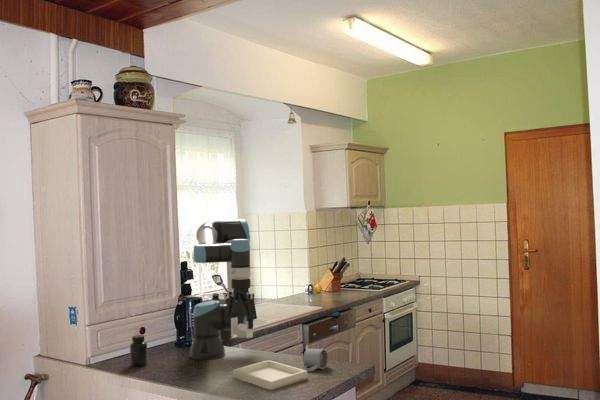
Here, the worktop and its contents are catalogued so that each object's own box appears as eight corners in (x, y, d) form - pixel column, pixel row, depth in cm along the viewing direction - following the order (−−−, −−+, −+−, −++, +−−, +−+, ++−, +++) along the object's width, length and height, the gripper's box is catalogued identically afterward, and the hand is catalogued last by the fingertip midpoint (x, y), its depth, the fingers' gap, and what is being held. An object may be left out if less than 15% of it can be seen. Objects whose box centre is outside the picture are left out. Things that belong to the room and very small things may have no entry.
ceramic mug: (310, 363, 230) (310, 345, 230) (328, 366, 226) (328, 347, 226) (298, 371, 221) (297, 351, 221) (316, 373, 217) (315, 354, 217)
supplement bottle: (139, 361, 237) (138, 333, 238) (150, 364, 234) (150, 335, 234) (126, 366, 232) (126, 336, 232) (138, 368, 228) (138, 338, 228)
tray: (233, 377, 213) (233, 369, 213) (268, 367, 226) (268, 360, 226) (271, 390, 197) (271, 381, 197) (307, 378, 210) (307, 370, 210)
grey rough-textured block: (245, 346, 217) (248, 333, 215) (230, 342, 218) (232, 329, 216) (252, 334, 226) (255, 321, 225) (238, 330, 227) (240, 317, 225)
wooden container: (205, 334, 288) (205, 291, 288) (234, 334, 286) (233, 291, 287) (197, 341, 273) (197, 295, 273) (227, 341, 272) (226, 295, 272)
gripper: (217, 277, 227) (218, 333, 226) (250, 280, 211) (251, 341, 210) (232, 276, 232) (233, 330, 231) (265, 279, 216) (266, 337, 215)
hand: (241, 335), depth 220 cm, fingers closed on grey rough-textured block, 9 cm apart
